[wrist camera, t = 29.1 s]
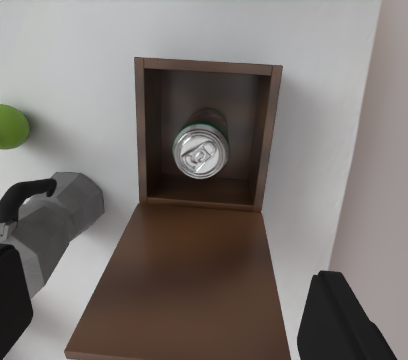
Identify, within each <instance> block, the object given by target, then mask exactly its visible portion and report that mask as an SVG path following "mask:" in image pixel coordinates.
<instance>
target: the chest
mask: <svg viewBox="0 0 408 360" xmlns="http://www.w3.org/2000/svg"><path fill="white" fill-rule="evenodd" d="M134 64H135V92H136V119H137V147H138V174H139V202H140V204H152V205H165V206H178V207H190V208H203V209H216V210H229V211H242V212H255V213H261V210H262V203H263V197H264V190H265V183H266V176H267V170H268V163H269V156H270V150H271V143H272V136H273V129H274V123H275V116H276V109H277V102H278V96H279V89H280V82H281V75H282V69H283V66H281V65H264V64H246V63H229V62H211V61H194V60H176V59H159V58H141V57H135V58H134ZM202 108H212V109H215V110H217V111H219V112H220V113H221V114H222V115H223V116H224V118H225V119H226V122H227V126H228V138H229V149H230V154H229V159H228V162H227V164H226V166H225V168H224V169H223V170H222V171H221V172H220V173H219V174H217V175H215V176H214V177H211V178H207V179H193V178H191V177H188V176H187V175H185V174H184V173H183V172H182V171H181V170H180V169H179V168H178V167H177V166H176V164H175V162H174V159H173V155H172V146H173V142H174V139H175V137H176V136H177V134H178V133H179V131H180V130H181V129H182V127H183V126H184V124H185V123H186V122H187V120H188V119H189V117H190V116H191V115H192V114H193V113H194V112H195V111H197V110H199V109H202Z"/></svg>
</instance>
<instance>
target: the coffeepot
mask: <svg viewBox="0 0 408 360" xmlns="http://www.w3.org/2000/svg"><path fill="white" fill-rule="evenodd" d="M33 195H34V196H33ZM31 196H33V197H32V198H31V199H30V200H29V201H28V202H27V203H26V204H24V205H22V204H23V202H24V201H25V200H26V198H30V197H31ZM103 213H104V203H103V197H102V194H101V190H100V189H99V188H98V187H97V186H96V185H95V184H94V183H93V182H92V181H91V180H90V179H88V178H87V177H85V176H84V175H82V174H81V173H73V172H64V173H58V172H56V173H55V174H54V175H53V176H52V177H51V178H50V179H44V180H36V181H28V182H20V183H17V184H15V185H13V186H11V187H10V188H9V189H8V190H7V192H6V193H5V194H4V196H3V197H2V199H1V200H0V243H2V244H11V245H13V246H14V247H15V249H16V250H18V251H19V253H20V257H21V261H22V266H23V270H24V274H25V279H26V283H27V287H28V291H29V296H30V299H31V298H32V297H33V296H34V295H35V294H36V293H37V292H38V291H39V290H41V289H42V288H43V287H44V286H45V285H46V283H47V281H48V279H49V277H50V276H51V274H52V272H53V271H54V269H55V267H56V266H57V264H58V262H59V260H60V259H61V257H62V255H63V254H64V252H65V250H66V249H67V247H68V245H69V242H70V241H72V240H73V239H74V238H76V237H77V236H78V235H80V234H81V233H82V232H84V231H85V230H86V229H88V228H89V227H90V226H91V225H92V224H93V223H94V222H95V221H96V220H97V219H98V218H99V217H100V216H101V215H102V214H103Z"/></svg>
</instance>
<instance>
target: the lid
mask: <svg viewBox="0 0 408 360" xmlns="http://www.w3.org/2000/svg"><path fill="white" fill-rule="evenodd" d="M64 353H65V356H66V358H67V359H73V360H291V356H290V351H289V346H288V341H287V336H286V331H285V326H284V321H283V316H282V311H281V306H280V301H279V296H278V291H277V286H276V281H275V276H274V271H273V266H272V261H271V255H270V250H269V245H268V240H267V235H266V230H265V225H264V220H263V215H262V213H255V212H242V211H229V210H216V209H203V208H190V207H178V206H165V205H152V204H139V203H138V205H137V207H136V209H135V211H134V213H133V215H132V217H131V219H130V221H129V223H128V225H127V227H126V229H125V231H124V233H123V235H122V237H121V239H120V241H119V243H118V245H117V247H116V249H115V251H114V253H113V255H112V257H111V259H110V261H109V263H108V265H107V267H106V269H105V271H104V273H103V275H102V277H101V279H100V281H99V283H98V285H97V287H96V289H95V291H94V293H93V295H92V297H91V299H90V301H89V303H88V305H87V307H86V309H85V311H84V313H83V315H82V317H81V319H80V321H79V323H78V325H77V327H76V329H75V331H74V333H73V335H72V337H71V339H70V341H69V343H68V345H67V347H66V349H65V351H64Z"/></svg>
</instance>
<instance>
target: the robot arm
mask: <svg viewBox="0 0 408 360" xmlns="http://www.w3.org/2000/svg"><path fill="white" fill-rule="evenodd" d="M32 317H33V308H32V304H31V300H30V296H29V291H28V287H27V283H26V279H25V274H24V270H23V266H22V261H21V257H20V253H19V251H18V250H16V249H15V247H14V246H13V245H11V244H2V243H0V360H3V358H4V357H5V356H6V354H7V353H8V352H9V350H10V349H11V348H12V346H13V345H14V344H15V343H16V341H17V340H18V339H19V337H20V336H21V335H22V333H23V332H24V331H25V329H26V328H27V327H28V325H29V324H30V322H31V320H32ZM297 346H298V351H299V355H300V359H301V360H397V358H396V357H395V355H394V353H393V352H392V350H391V349H390V347H389V345H388V344H387V342H386V340H385V338H384V337H383V335H382V333H381V332H380V330H379V329H378V328H377V326H376V325H375V324H374V323H373V322H371V321H370V320H369V318H368V317H367V315H366V313H365V312H364V310H363V308H362V307H361V305H360V304H359V301H358V300H357V298H356V297H355V295H354V293H353V291H352V290H351V288H350V286H349V284H348V283H347V281H346V279H345V278H344V276H343V275H342V273H340V272H334V271H320V272H319V273H318V275H313V277H312V280H311V284H310V288H309V292H308V296H307V300H306V304H305V308H304V312H303V316H302V320H301V324H300V328H299V332H298V336H297Z"/></svg>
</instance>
